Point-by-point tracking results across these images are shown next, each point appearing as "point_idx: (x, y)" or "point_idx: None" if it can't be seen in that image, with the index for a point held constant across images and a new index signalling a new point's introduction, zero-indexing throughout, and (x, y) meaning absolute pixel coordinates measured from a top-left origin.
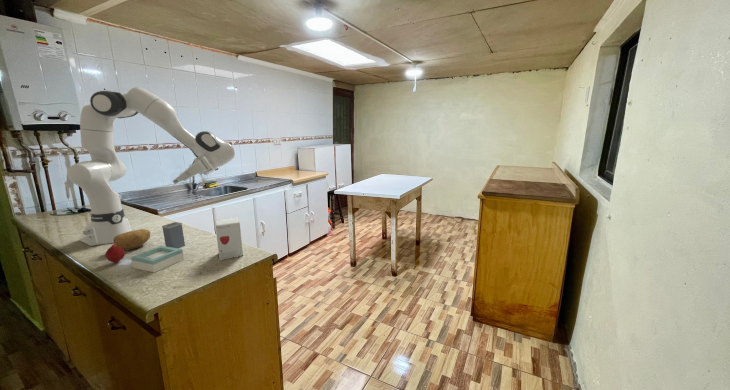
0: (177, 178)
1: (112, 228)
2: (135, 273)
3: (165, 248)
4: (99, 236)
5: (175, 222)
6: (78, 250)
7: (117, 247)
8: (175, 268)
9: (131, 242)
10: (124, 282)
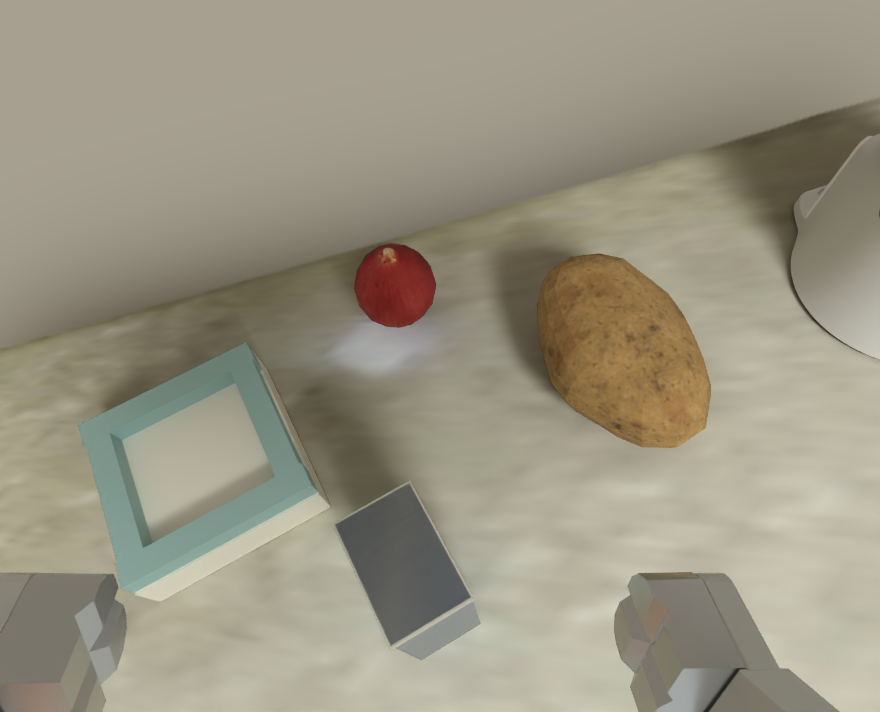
0: (5, 595)
1: (860, 232)
2: None
3: (230, 501)
4: (824, 203)
5: (453, 597)
6: (746, 169)
7: (374, 275)
8: (70, 538)
9: (541, 344)
10: (122, 343)
